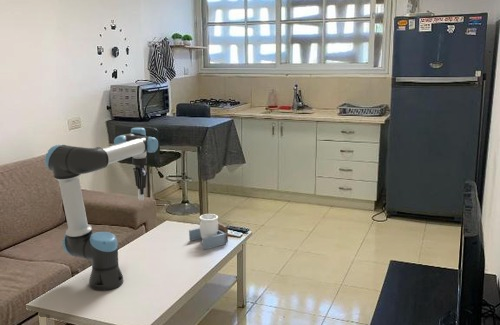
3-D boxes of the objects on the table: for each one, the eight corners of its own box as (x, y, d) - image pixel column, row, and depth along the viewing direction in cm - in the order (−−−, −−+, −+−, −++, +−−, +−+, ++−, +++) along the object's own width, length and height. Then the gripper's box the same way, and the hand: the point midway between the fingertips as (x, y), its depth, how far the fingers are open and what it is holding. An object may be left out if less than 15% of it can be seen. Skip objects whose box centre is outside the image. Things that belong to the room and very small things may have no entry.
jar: (218, 245, 268) (217, 219, 265) (199, 245, 268) (198, 219, 265) (218, 238, 279) (218, 213, 275) (200, 238, 278) (200, 213, 275)
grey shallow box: (204, 249, 262) (203, 239, 261) (189, 240, 275) (189, 230, 274) (226, 243, 270) (226, 233, 269) (210, 234, 283) (210, 225, 282)
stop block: (224, 242, 273) (224, 226, 271) (214, 236, 282) (214, 221, 280) (227, 241, 274) (227, 226, 272) (217, 235, 283) (217, 220, 281)
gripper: (151, 158, 253) (152, 201, 258) (141, 154, 264) (142, 195, 269) (137, 160, 249) (139, 204, 254) (127, 155, 259) (130, 198, 265)
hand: (141, 199), depth 262 cm, fingers closed
